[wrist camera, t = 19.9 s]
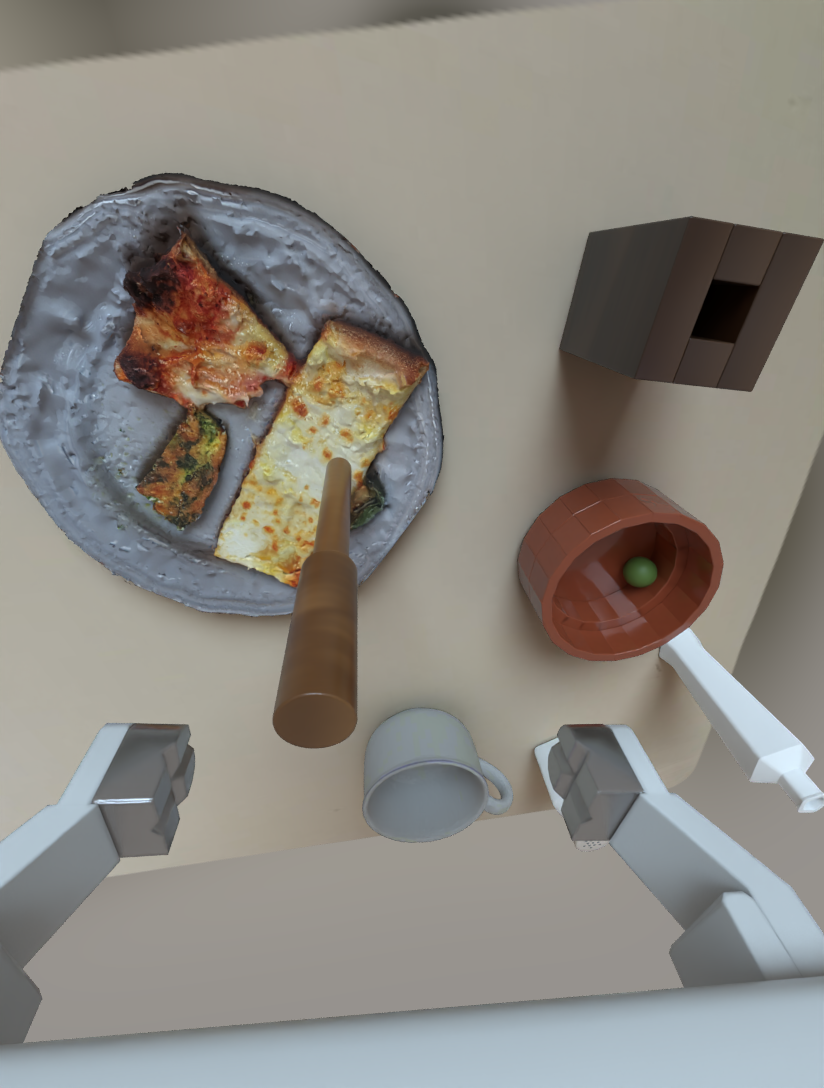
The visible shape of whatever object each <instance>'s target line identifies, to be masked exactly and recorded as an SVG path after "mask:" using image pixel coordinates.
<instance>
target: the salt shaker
mask: <svg viewBox="0 0 824 1088" xmlns="http://www.w3.org/2000/svg"><path fill="white" fill-rule="evenodd" d="M558 742H559V739H558V738H556V739H553V740H551V741H549V742H546V743H544V744H542V745H539V746H537V747H536V748H535V757H536V760H537V762H538V765H539V768H540V771H541V773H542V776H543V779H544V782H545V784H546V787H547V790H548V793H549V795H550V798H551V801H552V804H553V805H554V807H555V808H556V810H557V811H558V813H559V814H560V815H561V816H562V817H563V815H562V812H561V807H562V804H563V800H564V799H562V798H561V797H560V796H559V795H558V794H557V793H556V792H555V791H554V790H553V787H552V784H551V781H550V778H549V772H548V755H549V752H550V750H551V747H552V746H554V745H555V744H556V743H558ZM563 818H564V817H563ZM608 842H609V841H574V844H575V847H576V849H578V850H580V851H594V850H598V849H600V848H602V847H604V846H606V844H607V843H608Z"/></svg>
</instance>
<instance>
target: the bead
mask: <svg viewBox="0 0 824 1088" xmlns="http://www.w3.org/2000/svg"><path fill="white" fill-rule="evenodd" d="M623 576H624V578H625V580H626V581H627V582H628V583H629V584H630V585H632V586H634V587H640V588H641V587H647V586H649V585H651V584H652V583H653V582H654V581H655V579H656V577H657V568H656V565H655V564H654V563H653V562H652V561H651V560H650V559H648V558H645V557H634V558H631V559H630V560H628V561H627V562H626V563H625V565H624V567H623Z"/></svg>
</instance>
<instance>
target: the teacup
mask: <svg viewBox="0 0 824 1088" xmlns="http://www.w3.org/2000/svg"><path fill="white" fill-rule="evenodd" d="M483 776H484V777H485V778H487V779H488V780H489V781H491V782H492V783H493V784H494V785H495V787H496V788H497V789H498V791H499V792H500V795H501V799H500V800H498V799H495V798H493V797H491V796H490V795H489V791H488V785H487V783H486V780H485V779H484V777H483ZM512 801H513V791H512V787H511V785H510V783H509V781H508V780H507V778H506V777H505V776H504V775H503V773H502V772H500V771H499V770H498V769H497V768H496V767H494V766H493V765H491V764H490V763H488V762H486V761H485V760H483V759H481V758H479V757H478V755H477V751H476V748H475V745H474V743H473V740H472V738H471V735H470V733H469V732H468V730H467V728H466V727H465V726H464V725H463V724H462V722H460V721H459V720H458V719H457V718H455V717H454V716H452V715H451V714H449V713H446V712H444V711H440V710H437V709H430V708H413V709H408V710H405V711H402V712H400V713H398V714H396V715H394V716H392V717H390V718H389V719H387V720H386V721H384V722H383V723H382V724H381V725H380V726H379V727H378V728H377V729H376V730H375V731H374V733H373V734H372V736H371V738H370V740H369V742H368V745H367V748H366V752H365V761H364V800H363V807H362V810H363V816H364V818H365V820H366V822H367V824H368V825H369V826H370V827H371V828H372V829H373V830H374V831H376V832H377V833H378V834H380V835H382V836H384V837H386V838H389V839H392V840H395V841H400V842H410V843H414V842H430V841H435V840H440V839H443V838H446V837H449V836H452V835H454V834H456V833H458V832H460V831H462V830H464V829H465V828H467V827H468V826H470V825H471V824H472V823H473V822H474V821H475V820H476V819H477V818H479V816H480V815H481V814H482V813H483V811H484V810H485V811H486V812H488V813H490V814H494V815H500V814H503V813H504V812H506V811H507V810H508V809H509V807H510V806H511V804H512Z"/></svg>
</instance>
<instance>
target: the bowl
mask: <svg viewBox="0 0 824 1088" xmlns="http://www.w3.org/2000/svg"><path fill="white" fill-rule="evenodd" d="M634 557H645V558H648V559H650V560H651V561H652V562H653V563H654V564H655V565H656V568H657V577H656V579H655V581H654V582H653V583H652V584H651V585H649V586H647V587H641V588H640V587H634V586H632V585H630V584H629V583H628V582H627V581H626V580H625V578H624V576H623V567H624V565H625V563H626V562H627V561H628V560H630V559H631V558H634ZM518 569H519V580H520V582H521V584H522V586H523V588H524V590H525V592H526V594H527V596H528V598H529V599H530V601H531V603H532V605H533V607H534V609H535V611H536V613H537V615H538V617H539V619H540V621H541V623H542V625H543V626H544V628H545V630H546V632H547V634H548V636H549V637H550V639H551V641H552V642H553V643H554V644H555V645H557V646H558V647H559V648H561V649H562V650H563V651H565V652H566V653H567V654H569V655H572V656H575V657H578V658H582V659H585V660H588V661H617V660H622V659H626V658H631V657H635V656H639V655H642V654H644V653H647V652H649V651H651V650H653V649H656V648H658V647H660V646H663V645H664V644H666V643H668V642H669V641H670V640H672V639H673V638H675V637H676V636H678V635H679V634H681V633H682V632H683V631H685V630H686V629H687V628H689V627H690V626H691V625H692V624H693V623H694V621H695V620H696V619H697V618H698V617H699V616H700V615H701V614H702V613H703V612H704V611H705V610H706V608H707V607H708V605H709V604H710V602H711V600H712V598H713V596H714V595H715V593H716V591H717V589H718V588H719V584H720V579H721V574H722V569H723V558H722V553H721V549H720V544H719V541H718V540H717V538H716V537H715V536H714V535H713V534H712V532H711V531H710V530H709V529H708V528H707V526H706V525H705V524H703V523H702V522H701V521H699V520H698V519H697V518H695V517H694V516H693V515H691V514H690V513H689V512H687V511H686V510H684V509H683V508H682V507H680V506H679V505H678V504H676V503H675V502H674V501H672V500H671V499H669V498H668V497H667V496H665V495H664V494H663V493H661V492H660V491H659V490H657V489H655V488H653V487H651V486H649V485H647V484H644V483H642V482H640V481H637V480H628V479H615V478H610V479H606V480H601V481H597V482H592V483H588V484H585V485H582V486H580V487H578V488H576V489H574V490H572V491H570V492H569V493H567V494H565V495H563V496H561V497H559V498H558V499H557V500H556V501H555V502H554V503H552V504H551V505H550V506H549V507H548V508H547V509H546V510H545V511H544V512H542V513H541V514H540V515H539V517H537V519H536V520H535V522H534V523H533V525H532V527H531V528H530V530H529V531H528V533H527V534H526V536H525V538H524V539H523V543H522V547H521V550H520V554H519V557H518Z"/></svg>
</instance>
